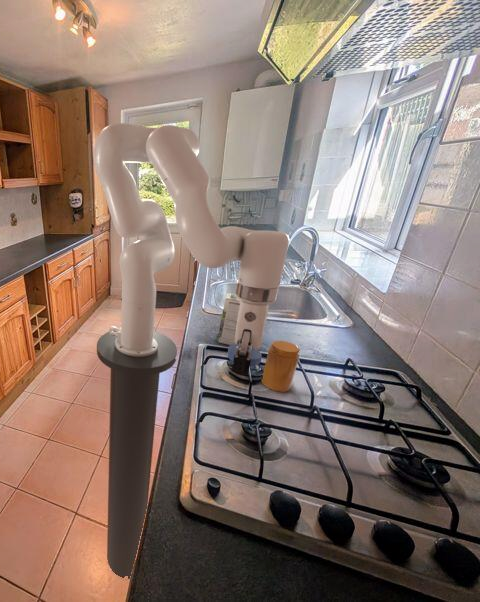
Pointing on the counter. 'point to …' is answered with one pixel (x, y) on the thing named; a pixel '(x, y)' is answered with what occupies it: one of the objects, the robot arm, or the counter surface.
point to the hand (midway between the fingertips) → (242, 364)
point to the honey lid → (255, 352)
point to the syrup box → (229, 320)
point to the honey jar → (280, 366)
